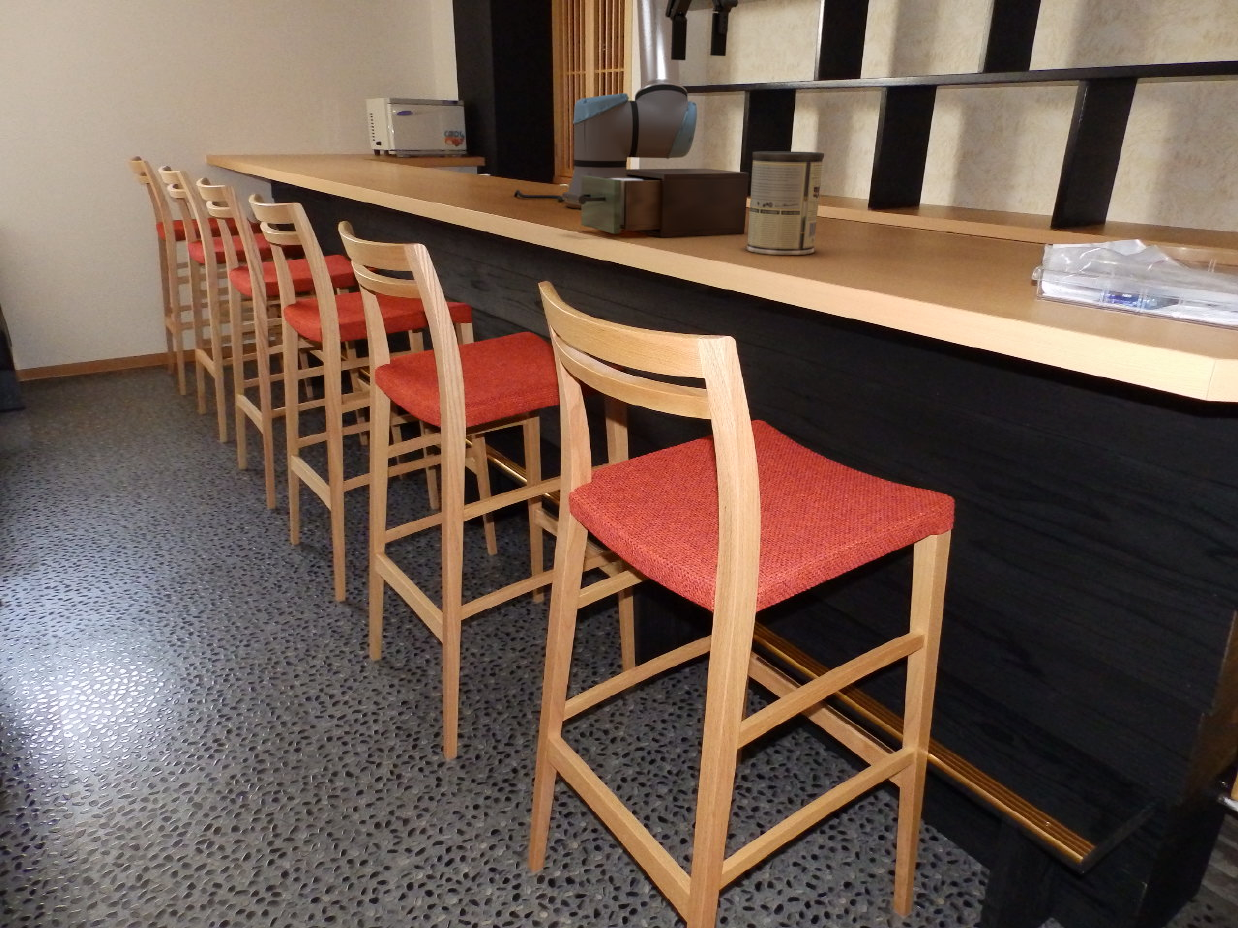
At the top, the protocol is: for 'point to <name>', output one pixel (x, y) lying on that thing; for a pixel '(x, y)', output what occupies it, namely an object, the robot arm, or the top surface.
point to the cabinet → (699, 201)
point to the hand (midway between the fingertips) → (697, 58)
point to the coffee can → (784, 202)
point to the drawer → (619, 203)
